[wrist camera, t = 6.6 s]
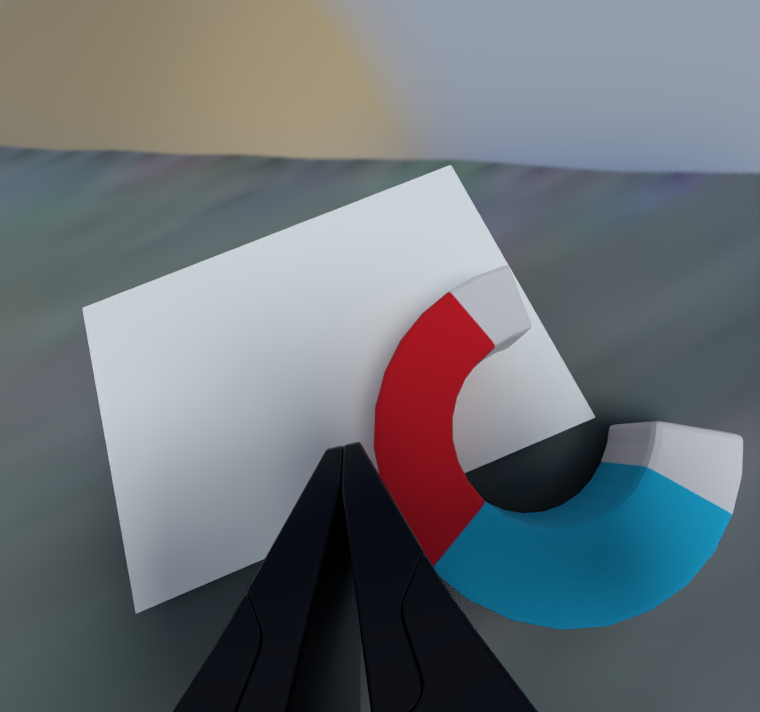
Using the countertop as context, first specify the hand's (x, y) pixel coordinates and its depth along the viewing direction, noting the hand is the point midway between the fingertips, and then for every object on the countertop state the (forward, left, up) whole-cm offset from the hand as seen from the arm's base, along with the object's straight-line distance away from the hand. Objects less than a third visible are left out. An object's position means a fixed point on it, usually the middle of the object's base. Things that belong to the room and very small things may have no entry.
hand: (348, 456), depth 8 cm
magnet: (-4, 0, -5) cm, 6 cm away
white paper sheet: (+5, +1, -7) cm, 8 cm away
